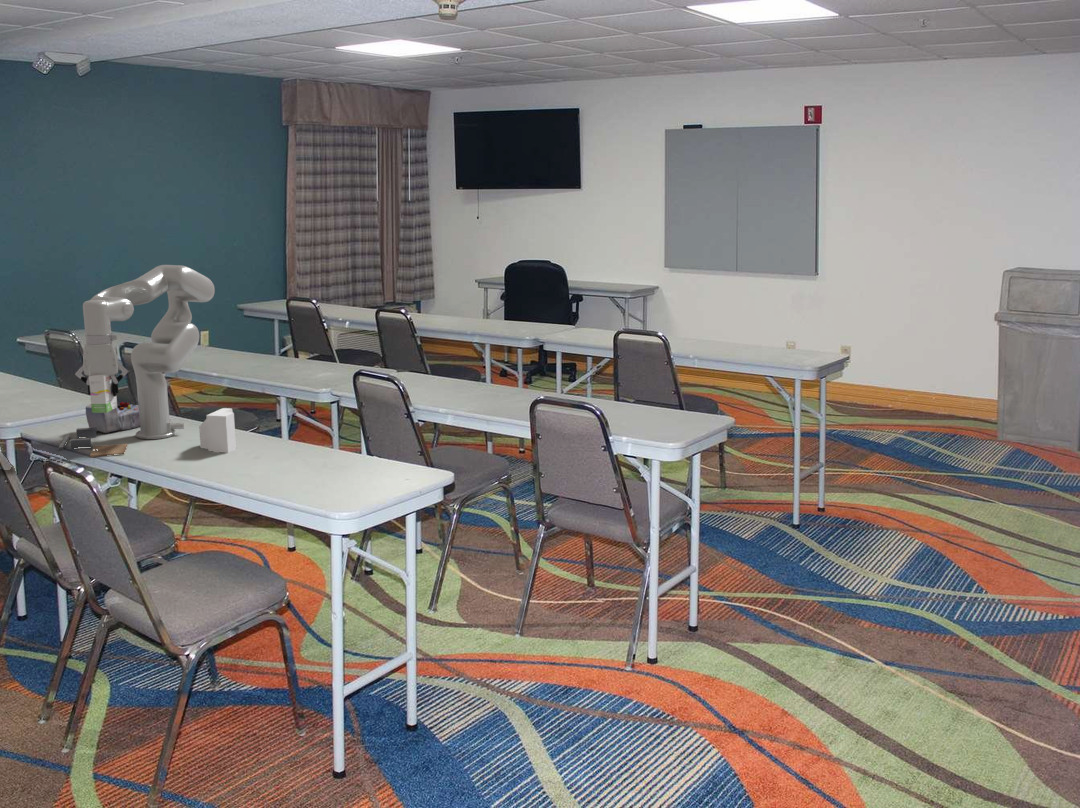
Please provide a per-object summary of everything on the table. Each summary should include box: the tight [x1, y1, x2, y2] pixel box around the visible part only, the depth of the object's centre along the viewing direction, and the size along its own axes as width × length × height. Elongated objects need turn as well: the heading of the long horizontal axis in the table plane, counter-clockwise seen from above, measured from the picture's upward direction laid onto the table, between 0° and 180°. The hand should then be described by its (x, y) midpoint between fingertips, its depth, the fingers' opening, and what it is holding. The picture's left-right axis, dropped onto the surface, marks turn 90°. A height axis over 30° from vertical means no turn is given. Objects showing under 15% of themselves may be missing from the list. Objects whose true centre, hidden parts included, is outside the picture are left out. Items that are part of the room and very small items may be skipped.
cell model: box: [85, 401, 140, 434], centre depth 365 cm, size 13×11×20 cm
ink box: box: [89, 366, 118, 413], centre depth 332 cm, size 9×5×15 cm, turn 179°
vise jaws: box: [57, 427, 98, 451], centre depth 346 cm, size 10×17×3 cm, turn 16°
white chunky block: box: [198, 407, 237, 454], centre depth 339 cm, size 11×11×12 cm
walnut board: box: [89, 443, 128, 458], centre depth 336 cm, size 10×12×1 cm
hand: (103, 395), depth 332 cm, fingers closed on ink box, 6 cm apart
